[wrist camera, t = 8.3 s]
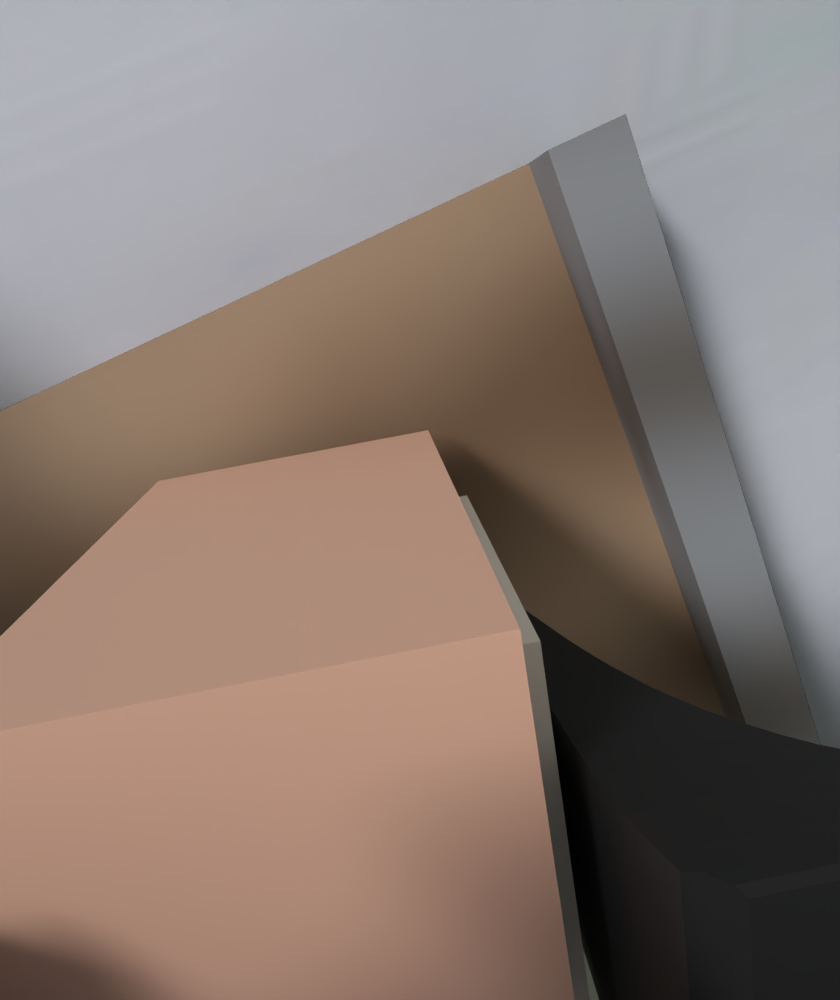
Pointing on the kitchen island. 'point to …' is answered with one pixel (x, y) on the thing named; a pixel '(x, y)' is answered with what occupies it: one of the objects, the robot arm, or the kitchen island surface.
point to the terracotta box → (285, 751)
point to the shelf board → (462, 421)
